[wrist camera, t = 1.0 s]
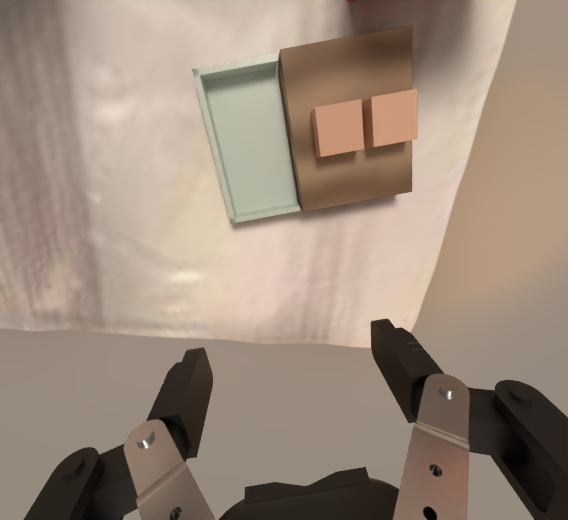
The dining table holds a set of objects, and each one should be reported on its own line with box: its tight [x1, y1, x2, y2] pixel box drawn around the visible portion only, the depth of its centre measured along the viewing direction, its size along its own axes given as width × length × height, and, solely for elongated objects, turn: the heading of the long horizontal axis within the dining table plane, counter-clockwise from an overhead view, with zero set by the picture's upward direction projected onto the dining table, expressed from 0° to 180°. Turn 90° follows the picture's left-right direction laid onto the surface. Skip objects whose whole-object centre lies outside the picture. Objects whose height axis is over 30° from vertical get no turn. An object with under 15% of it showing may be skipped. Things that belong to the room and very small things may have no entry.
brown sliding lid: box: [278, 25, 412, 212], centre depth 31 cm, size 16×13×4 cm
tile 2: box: [363, 88, 418, 148], centre depth 28 cm, size 4×4×2 cm
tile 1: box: [311, 99, 364, 157], centre depth 28 cm, size 4×4×2 cm
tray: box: [192, 54, 300, 224], centre depth 31 cm, size 16×9×3 cm, turn 10°
